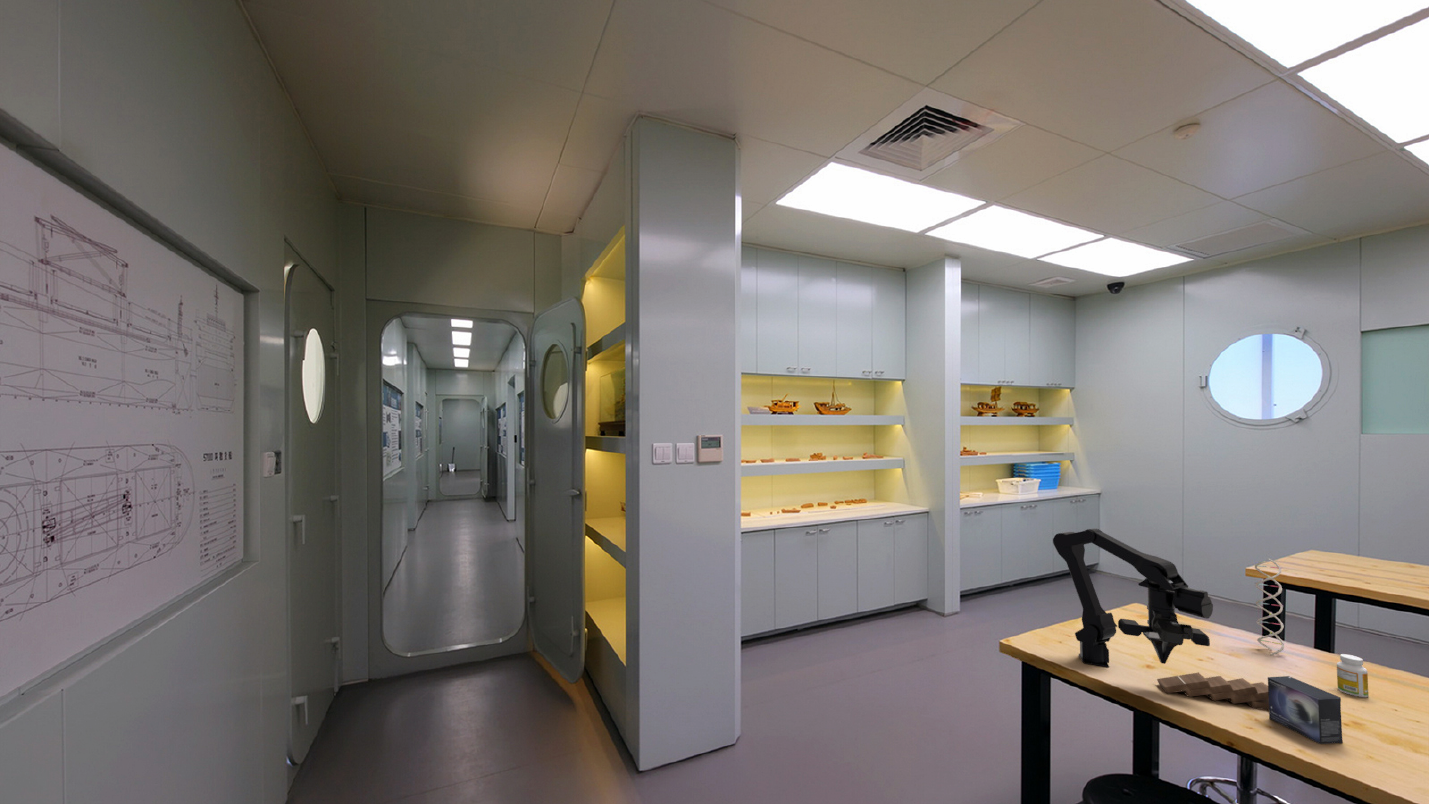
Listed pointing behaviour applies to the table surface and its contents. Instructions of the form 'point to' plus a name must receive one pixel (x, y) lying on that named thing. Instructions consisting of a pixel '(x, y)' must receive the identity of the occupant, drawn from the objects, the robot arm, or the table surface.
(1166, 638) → the robot arm
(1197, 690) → the domino
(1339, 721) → the small box
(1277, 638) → the dna model
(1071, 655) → the table surface
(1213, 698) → the domino
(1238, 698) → the domino
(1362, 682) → the supplement bottle
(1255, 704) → the domino
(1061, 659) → the table surface
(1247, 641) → the table surface
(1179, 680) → the domino
